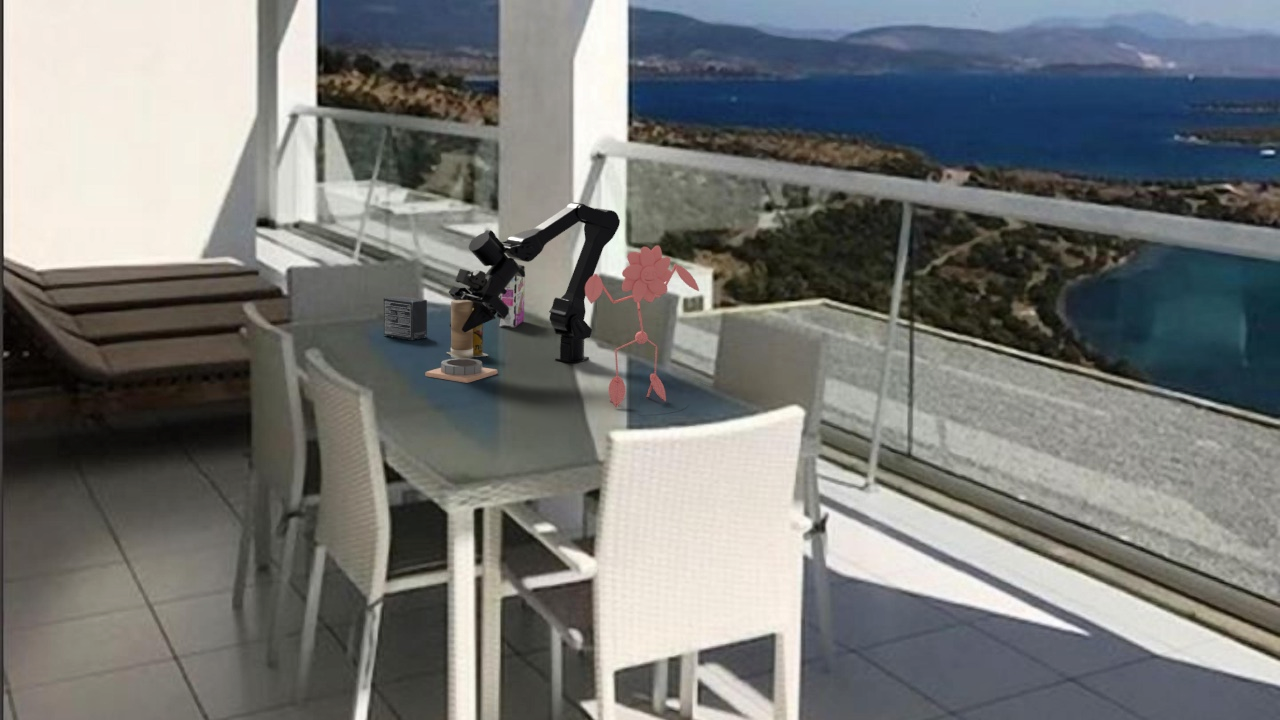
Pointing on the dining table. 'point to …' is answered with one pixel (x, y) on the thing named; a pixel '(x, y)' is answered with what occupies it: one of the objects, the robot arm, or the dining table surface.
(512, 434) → the dining table surface
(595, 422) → the dining table surface
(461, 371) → the collar
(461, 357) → the brown cylinder
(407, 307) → the small box
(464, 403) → the dining table surface
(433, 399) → the dining table surface
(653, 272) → the figurine
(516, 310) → the candy bar box
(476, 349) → the condiment
